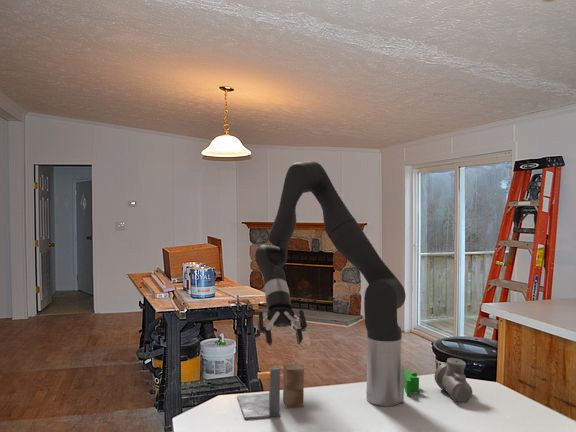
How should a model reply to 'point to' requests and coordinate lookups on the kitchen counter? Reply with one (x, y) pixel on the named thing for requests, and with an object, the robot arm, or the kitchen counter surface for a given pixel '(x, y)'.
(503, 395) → the kitchen counter surface
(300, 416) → the kitchen counter surface
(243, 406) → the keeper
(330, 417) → the kitchen counter surface
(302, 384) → the link block
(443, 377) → the pipe fitting
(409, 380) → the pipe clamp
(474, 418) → the kitchen counter surface
